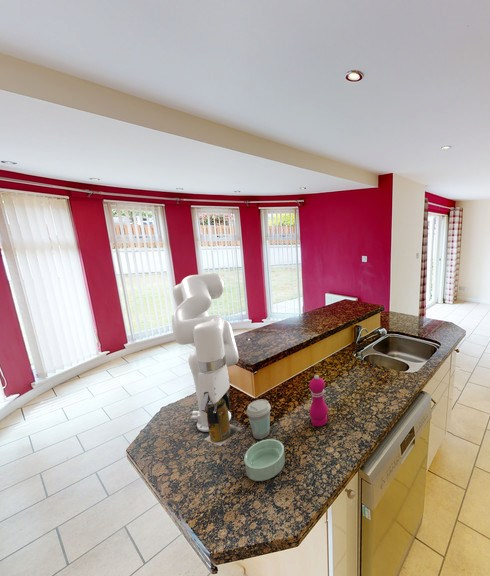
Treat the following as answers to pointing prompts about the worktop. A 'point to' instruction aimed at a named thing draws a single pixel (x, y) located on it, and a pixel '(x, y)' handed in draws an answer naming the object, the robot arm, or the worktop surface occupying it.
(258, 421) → the coffee cup
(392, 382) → the worktop surface
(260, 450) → the bowl
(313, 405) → the pepper mill
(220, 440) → the condiment
